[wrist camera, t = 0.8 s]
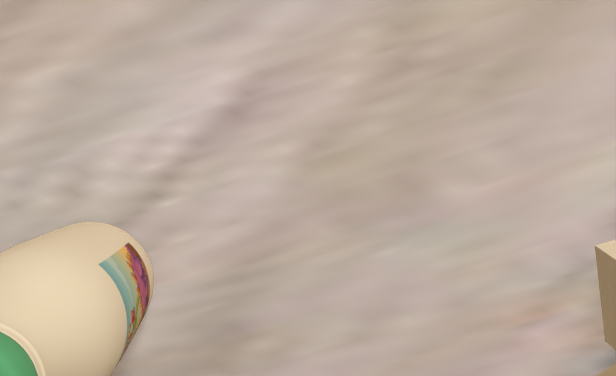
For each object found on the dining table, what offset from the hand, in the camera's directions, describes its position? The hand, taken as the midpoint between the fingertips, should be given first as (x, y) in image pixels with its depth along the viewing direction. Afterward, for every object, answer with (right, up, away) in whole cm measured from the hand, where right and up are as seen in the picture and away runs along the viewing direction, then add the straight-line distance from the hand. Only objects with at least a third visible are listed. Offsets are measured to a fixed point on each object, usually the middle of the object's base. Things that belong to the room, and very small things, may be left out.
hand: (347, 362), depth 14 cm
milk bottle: (-15, -2, +23) cm, 27 cm away
